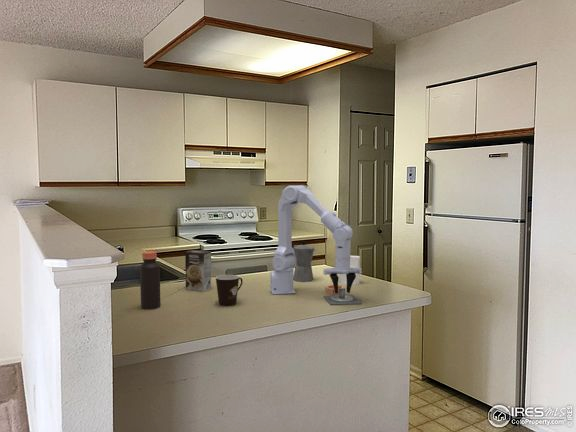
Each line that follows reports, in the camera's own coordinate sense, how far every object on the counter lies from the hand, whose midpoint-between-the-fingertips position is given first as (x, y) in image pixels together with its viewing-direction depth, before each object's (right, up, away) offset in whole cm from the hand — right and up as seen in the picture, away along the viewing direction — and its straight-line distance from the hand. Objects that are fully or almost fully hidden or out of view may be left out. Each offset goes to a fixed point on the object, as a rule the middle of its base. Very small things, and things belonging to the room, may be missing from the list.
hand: (342, 292), depth 175 cm
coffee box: (-58, -2, +17) cm, 61 cm away
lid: (0, -3, 0) cm, 3 cm away
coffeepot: (-14, 0, +35) cm, 38 cm away
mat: (0, -3, 0) cm, 3 cm away
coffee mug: (-42, -3, -4) cm, 42 cm away
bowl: (-2, -2, +11) cm, 11 cm away
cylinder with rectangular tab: (+7, -1, +30) cm, 30 cm away
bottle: (-70, -4, -9) cm, 71 cm away
